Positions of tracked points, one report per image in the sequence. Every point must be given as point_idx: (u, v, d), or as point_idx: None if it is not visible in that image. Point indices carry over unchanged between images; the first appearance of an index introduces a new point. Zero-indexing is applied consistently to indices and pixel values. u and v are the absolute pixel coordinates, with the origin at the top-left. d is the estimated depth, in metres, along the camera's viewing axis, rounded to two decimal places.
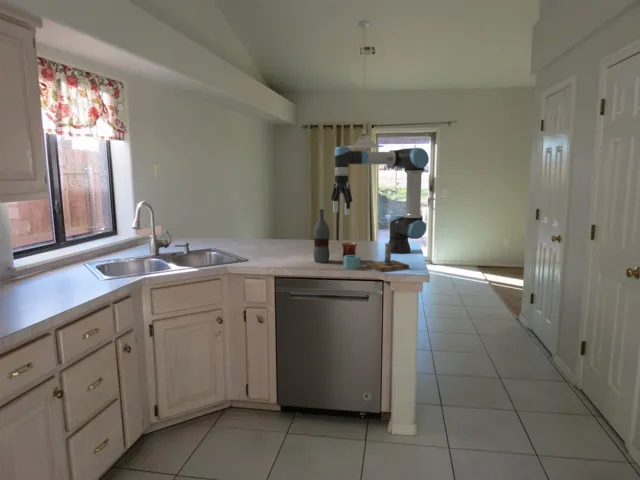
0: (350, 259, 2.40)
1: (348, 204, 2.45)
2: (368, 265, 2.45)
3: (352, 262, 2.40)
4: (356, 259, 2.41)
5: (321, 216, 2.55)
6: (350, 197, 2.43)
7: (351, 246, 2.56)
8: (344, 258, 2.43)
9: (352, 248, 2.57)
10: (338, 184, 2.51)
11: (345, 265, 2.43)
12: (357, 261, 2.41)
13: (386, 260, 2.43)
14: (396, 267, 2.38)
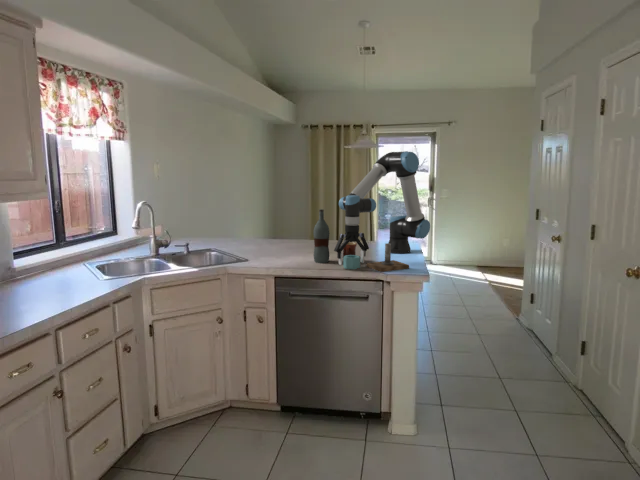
0: (350, 259, 2.40)
1: (338, 254, 2.40)
2: (368, 265, 2.45)
3: (352, 262, 2.40)
4: (356, 259, 2.41)
5: (321, 216, 2.55)
6: (336, 247, 2.39)
7: (351, 246, 2.56)
8: (344, 258, 2.43)
9: (352, 248, 2.57)
10: None
11: (345, 265, 2.43)
12: (357, 261, 2.41)
13: (386, 260, 2.43)
14: (396, 267, 2.38)
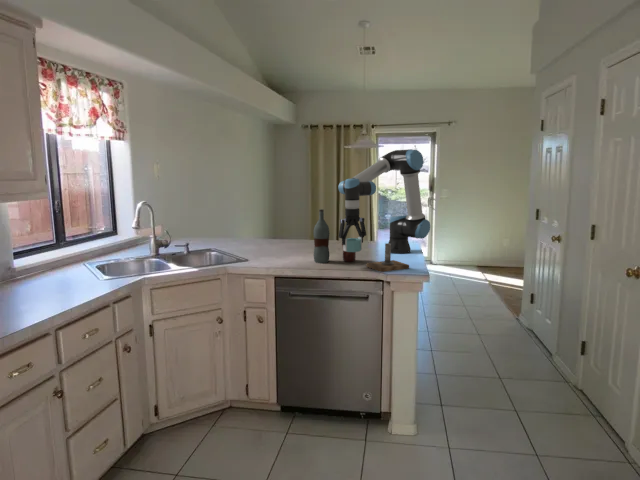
0: (351, 242, 2.39)
1: (342, 240, 2.40)
2: (368, 265, 2.45)
3: (353, 245, 2.39)
4: (357, 242, 2.39)
5: (321, 216, 2.55)
6: (340, 233, 2.39)
7: None
8: None
9: None
10: None
11: None
12: (358, 244, 2.40)
13: (386, 260, 2.43)
14: (396, 267, 2.38)
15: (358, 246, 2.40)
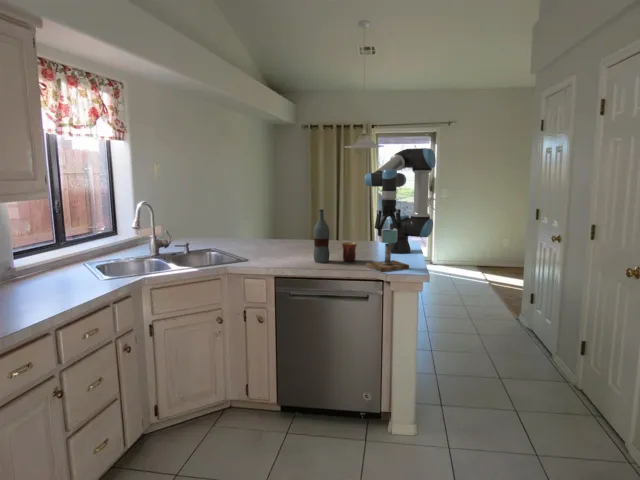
0: (387, 233, 2.37)
1: (378, 231, 2.39)
2: (368, 265, 2.45)
3: (389, 236, 2.37)
4: (393, 233, 2.38)
5: (321, 216, 2.55)
6: (376, 224, 2.37)
7: (351, 246, 2.56)
8: None
9: (352, 248, 2.57)
10: None
11: None
12: (394, 235, 2.38)
13: (386, 260, 2.43)
14: (396, 267, 2.38)
15: (394, 237, 2.38)
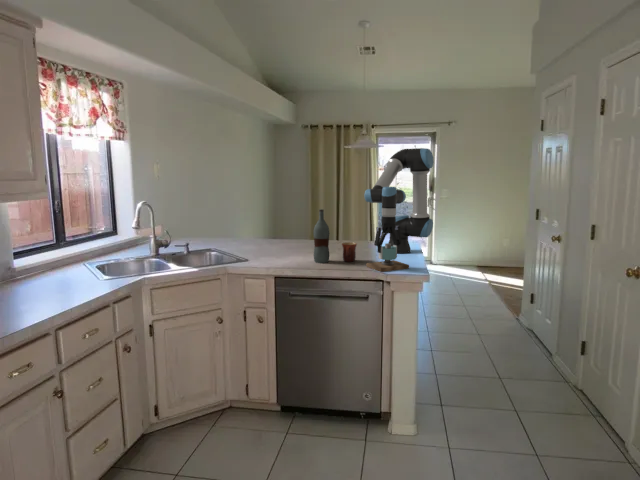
0: (387, 250, 2.39)
1: (378, 248, 2.40)
2: (368, 265, 2.45)
3: (389, 253, 2.39)
4: (393, 250, 2.39)
5: (321, 216, 2.55)
6: (376, 241, 2.38)
7: (351, 246, 2.56)
8: None
9: (352, 248, 2.57)
10: None
11: None
12: (393, 252, 2.40)
13: (386, 260, 2.43)
14: (396, 267, 2.38)
15: (394, 254, 2.40)
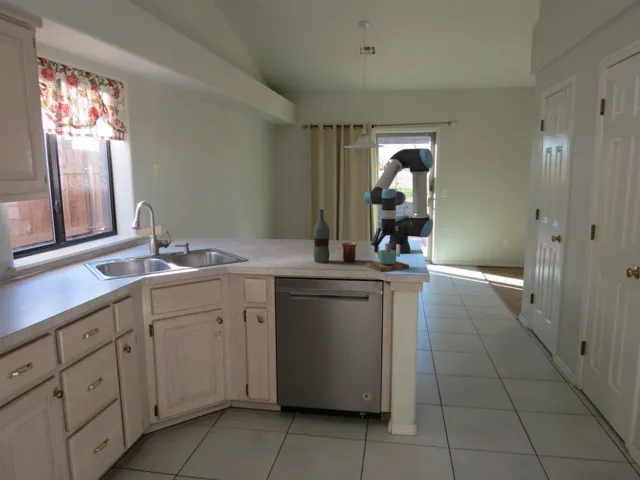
0: (387, 254, 2.39)
1: (374, 248, 2.39)
2: (368, 265, 2.45)
3: (389, 257, 2.39)
4: (392, 254, 2.40)
5: (321, 216, 2.55)
6: (373, 241, 2.38)
7: (351, 246, 2.56)
8: (380, 253, 2.42)
9: (352, 248, 2.57)
10: None
11: (381, 260, 2.41)
12: (393, 256, 2.40)
13: None
14: (396, 267, 2.38)
15: (394, 258, 2.40)
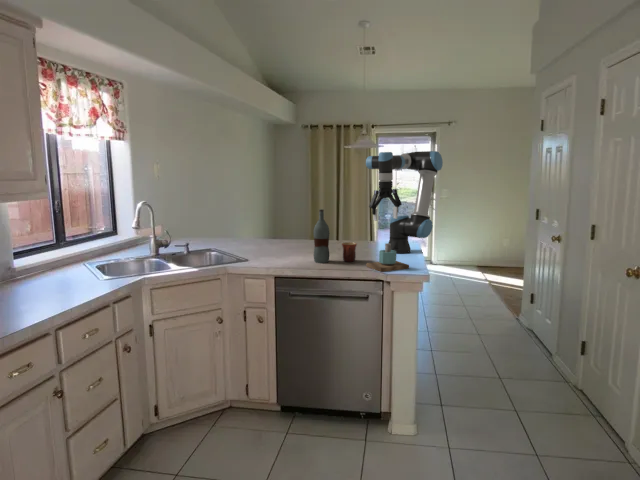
0: (387, 254, 2.39)
1: (372, 210, 2.46)
2: (368, 265, 2.45)
3: (389, 257, 2.39)
4: (392, 254, 2.40)
5: (321, 216, 2.55)
6: (371, 203, 2.44)
7: (351, 246, 2.56)
8: (380, 253, 2.42)
9: (352, 248, 2.57)
10: None
11: (381, 260, 2.41)
12: (393, 256, 2.40)
13: None
14: (396, 267, 2.38)
15: (394, 258, 2.40)
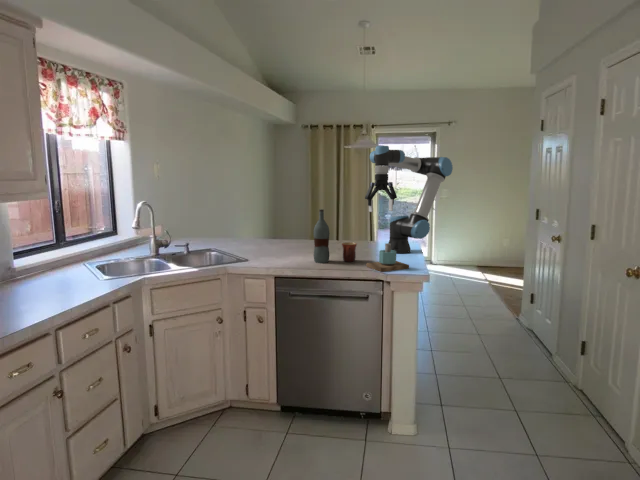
0: (387, 254, 2.39)
1: (368, 201, 2.55)
2: (368, 265, 2.45)
3: (389, 257, 2.39)
4: (392, 254, 2.40)
5: (321, 216, 2.55)
6: (367, 195, 2.53)
7: (351, 246, 2.56)
8: (380, 253, 2.42)
9: (352, 248, 2.57)
10: None
11: (381, 260, 2.41)
12: (393, 256, 2.40)
13: None
14: (396, 267, 2.38)
15: (394, 258, 2.40)
